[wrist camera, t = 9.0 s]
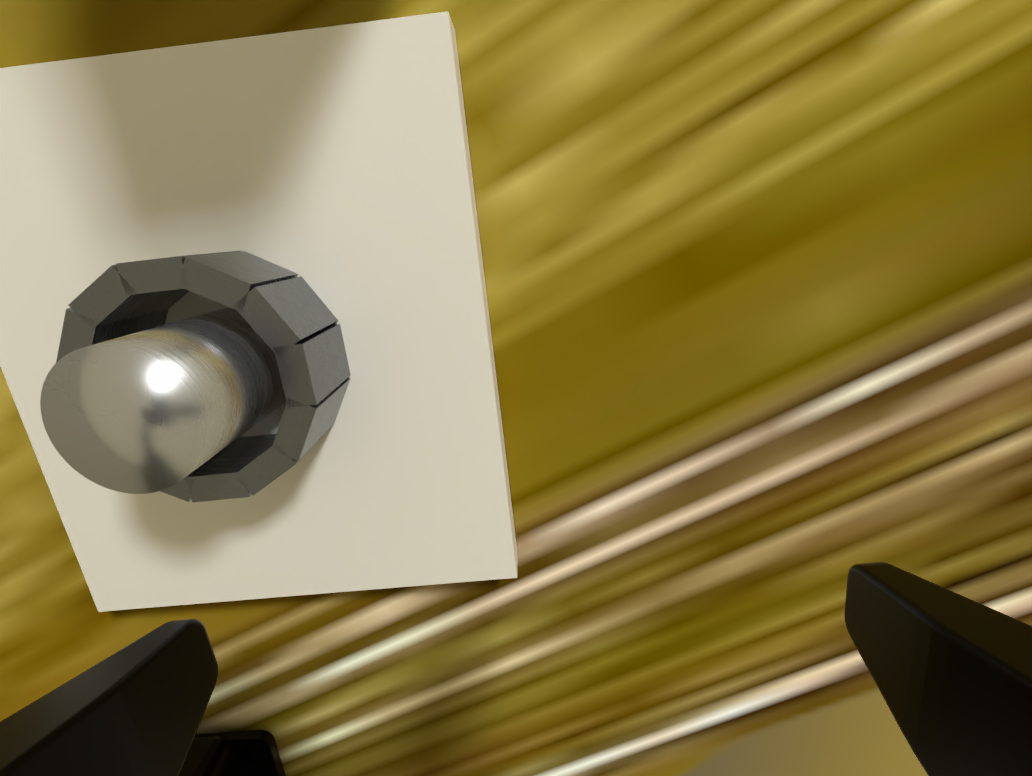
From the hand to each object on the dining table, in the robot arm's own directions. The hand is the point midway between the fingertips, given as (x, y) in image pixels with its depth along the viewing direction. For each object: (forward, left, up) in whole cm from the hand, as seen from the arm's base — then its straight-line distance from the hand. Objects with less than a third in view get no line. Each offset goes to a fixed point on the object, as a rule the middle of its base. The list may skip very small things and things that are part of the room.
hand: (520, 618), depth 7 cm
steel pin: (+2, +9, -11) cm, 14 cm away
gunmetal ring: (+2, +9, -11) cm, 14 cm away
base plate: (+2, +9, -12) cm, 15 cm away
